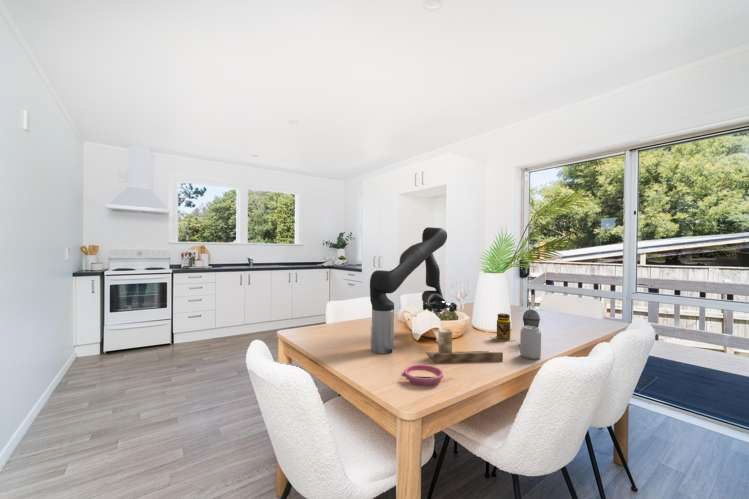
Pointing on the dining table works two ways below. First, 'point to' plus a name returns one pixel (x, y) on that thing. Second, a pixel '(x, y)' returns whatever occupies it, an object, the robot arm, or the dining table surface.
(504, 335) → the condiment
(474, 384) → the dining table surface
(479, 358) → the board
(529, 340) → the grey square jar
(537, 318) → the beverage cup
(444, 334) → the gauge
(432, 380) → the purple round open piece
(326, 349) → the dining table surface
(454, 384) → the dining table surface
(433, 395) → the dining table surface
